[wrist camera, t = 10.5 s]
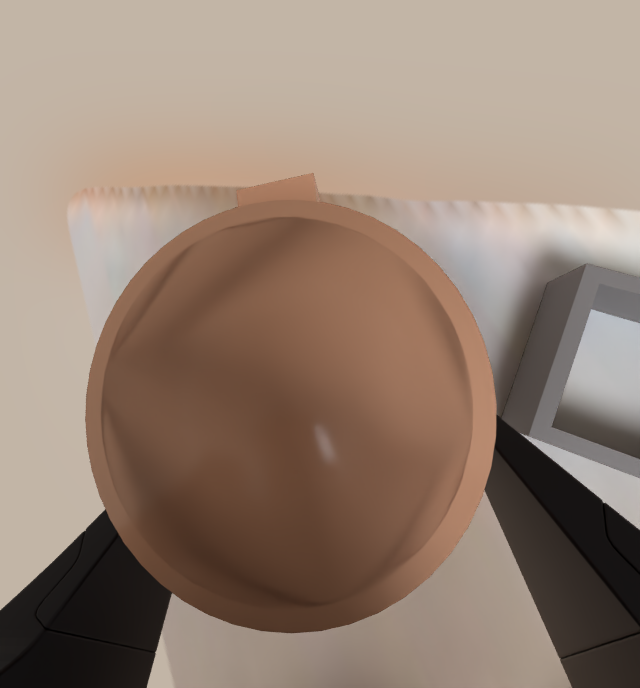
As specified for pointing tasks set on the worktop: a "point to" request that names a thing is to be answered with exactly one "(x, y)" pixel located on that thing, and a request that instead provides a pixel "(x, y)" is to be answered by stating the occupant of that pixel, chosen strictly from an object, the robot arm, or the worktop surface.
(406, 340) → the peach rounded cylinder
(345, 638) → the worktop surface
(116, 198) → the worktop surface
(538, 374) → the holder
